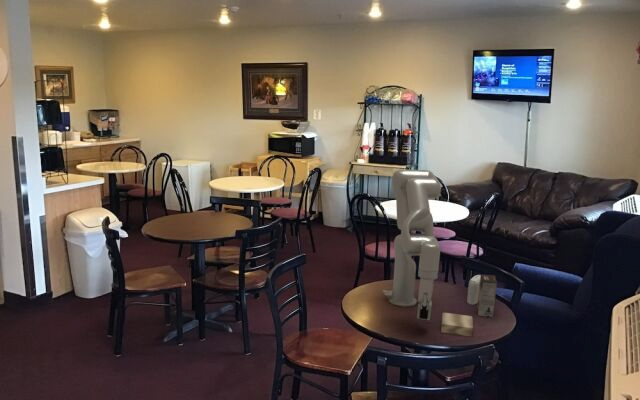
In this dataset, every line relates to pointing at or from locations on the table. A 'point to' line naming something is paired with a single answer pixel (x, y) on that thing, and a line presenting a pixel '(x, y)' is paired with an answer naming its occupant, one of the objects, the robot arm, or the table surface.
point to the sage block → (428, 310)
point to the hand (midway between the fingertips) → (423, 315)
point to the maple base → (457, 324)
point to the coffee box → (486, 295)
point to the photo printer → (473, 290)
